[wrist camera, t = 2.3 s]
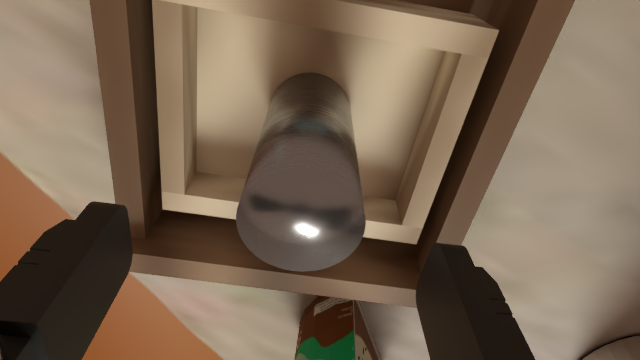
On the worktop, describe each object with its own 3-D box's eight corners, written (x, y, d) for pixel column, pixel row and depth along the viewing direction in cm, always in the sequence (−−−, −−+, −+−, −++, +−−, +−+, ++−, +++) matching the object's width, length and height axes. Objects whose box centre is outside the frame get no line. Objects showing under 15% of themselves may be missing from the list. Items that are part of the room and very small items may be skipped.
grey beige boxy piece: (472, 14, 17) (596, 88, 9) (405, 207, 22) (448, 356, 14) (178, -41, 16) (41, -9, 8) (182, 175, 21) (100, 316, 13)
